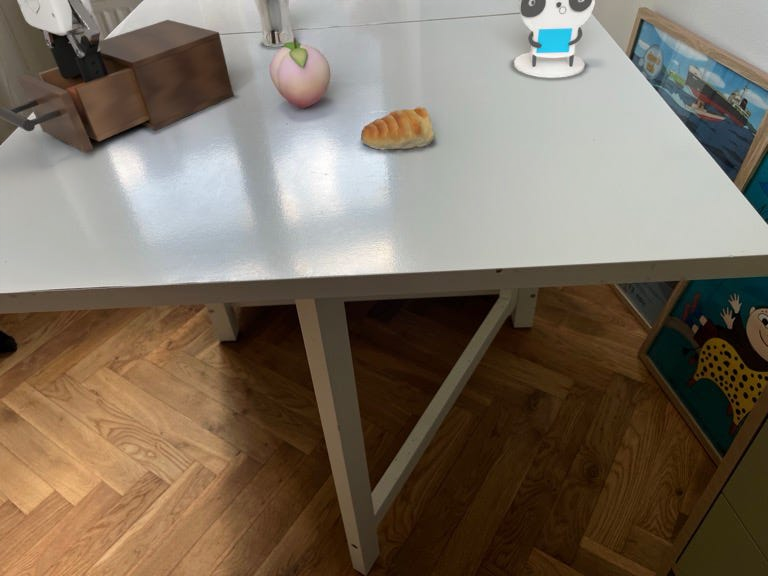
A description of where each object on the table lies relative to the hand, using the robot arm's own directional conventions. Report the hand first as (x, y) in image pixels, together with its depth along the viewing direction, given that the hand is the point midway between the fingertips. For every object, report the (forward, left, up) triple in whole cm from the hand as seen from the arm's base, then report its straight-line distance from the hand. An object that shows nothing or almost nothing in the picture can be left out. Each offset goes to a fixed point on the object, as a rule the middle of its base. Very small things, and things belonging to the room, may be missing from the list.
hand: (86, 78), depth 75 cm
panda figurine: (+65, -26, -8) cm, 70 cm away
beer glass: (+38, +17, -8) cm, 42 cm away
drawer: (-2, 0, -7) cm, 7 cm away
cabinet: (+11, +3, -7) cm, 14 cm away
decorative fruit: (+26, -13, -8) cm, 30 cm away
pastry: (+30, -31, -8) cm, 44 cm away
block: (0, 0, -5) cm, 5 cm away
